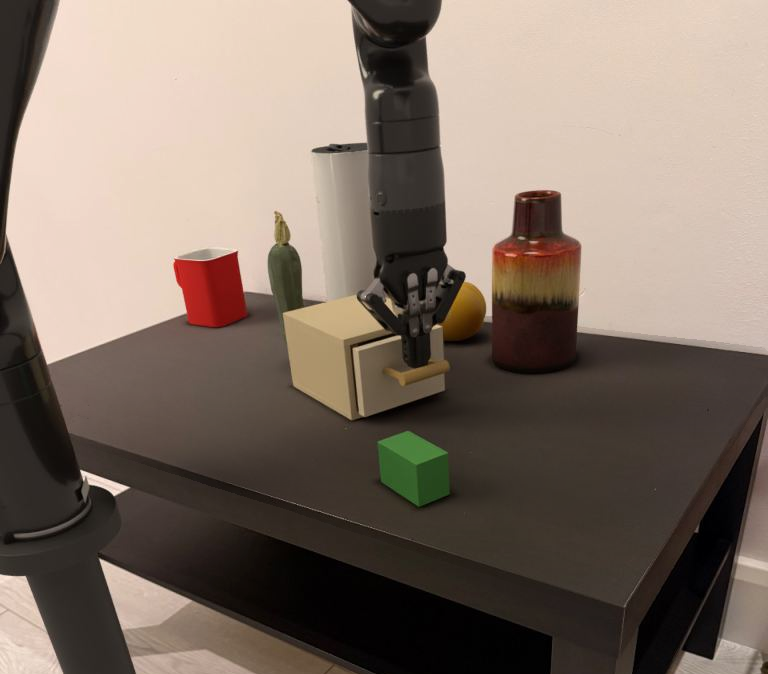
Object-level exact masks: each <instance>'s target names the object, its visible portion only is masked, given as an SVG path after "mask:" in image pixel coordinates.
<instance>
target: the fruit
mask: <svg viewBox="0 0 768 674" xmlns="http://www.w3.org/2000/svg"><path fill="white" fill-rule="evenodd" d="M486 315H487V303H486V299H485V296H484V294H483V293H482V291H481V290H480V289H479V287H477V286H476V285H474V284H473V283H471V282H468V281H464V283H463V285H462V287H461V289H460V291H459V293H458V295H457V297H456V299H455V301H454V303H453V305H452V307H451V309H450V311H449V313H448V315H447V317H446V319H445V321H444V322H443V323H441V324H439V323H438V324H436V325H439V326H442V327H443V341H445V342H459V341H464V340H466V339H469V338H471V337H473V336H474V335H476V334H477V333H478V332H479V331H481V329H482V327H483V323H484V321H485V318H486Z"/></svg>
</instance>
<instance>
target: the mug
mask: <svg viewBox="0 0 768 674" xmlns="http://www.w3.org/2000/svg"><path fill="white" fill-rule="evenodd" d="M173 260H174V261H173V263H172V266H173V267H172V268H173V272H174V276H175V281H176V283H177V285H178V286H179V288H180V289H181V291H182V297H183V301H184V306H185V310H186V316H187V320H188V323H189V325H193V326H194V325H195V326H200V327H206V328H207V327H208V328H222V327H226V326H228V325H231V324H232V323H235V322H237V321H240V320H242V319H244V318H246V317H248V310H247V304H246V298H245V291H244V287H243V280H242V273H241V269H240V263H239V249H238V248H230V247H215V246H207V247H200V248H197V249H193V250H191V251H188V252H184V253H181V254H178V255H175V256H174V257H173Z"/></svg>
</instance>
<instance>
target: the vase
mask: <svg viewBox="0 0 768 674" xmlns="http://www.w3.org/2000/svg"><path fill="white" fill-rule="evenodd" d="M562 208H563V207H562V192H560V191H557V190H550V189H540V190H538V189H537V190H528V191H522V192H518V193H516V194H515V195H514V199H513V208H512V209H513V212H512V222H511V223H512V224H511V232H510V234H509V235H508V236H506V237H504V238H502V239H500V240H499V241H497V242H496V243H494V245H493V246H492V249H491V358H492V359H491V360H492V363H493V364H494V365H495V366H496V367H497V368H500V369H502V370H505V371H508V372H513V373H519V374H544V373H552V372H557V371H560V370H563V369H566V368H568V367H570V366H571V365H573V364H574V363H575V361H576V357H577V340H578V339H577V338H578V324H579V323H578V321H579V306H580V305H579V303H580V284H581V268H582V267H581V266H582V248H583V247H582V243H581V242H580V241H579V239H577V238H576V237H574V236H572V235H569V234H567V233H565V232H564V230H563V209H562Z"/></svg>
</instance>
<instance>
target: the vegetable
mask: <svg viewBox="0 0 768 674" xmlns="http://www.w3.org/2000/svg"><path fill="white" fill-rule="evenodd" d="M273 212H274V213H273V214H274V215H275V216H274V230H273V236H274V241H275V244H273V246H271V248H270V250H269V252H268V254H267V273H268V279H269V284H270V290H271V294H272V296H273V299H274V302H275V306H276V310H277V314H278V319H279V322H280V328H281V333H282V336H283V340H284V343H285V345H286V348H287V349H288V346H287V339H286V332H285V325H284V318H283V313H285V312H289V311H293V310H297V309H301V308H305V305H304V301H303V298H304V297H303V268H302V267H303V266H302V261H301V257H300V254H299V252H298V251H297V249H296V248H295V247H294V246H293V245H291V244H290V240H291V237H292V236H291V231H290V228H289V225H288V224H287V221H286V220H285V219H284V217H283V214H282V213H281V212H279V211H277V210H274V211H273Z"/></svg>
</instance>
